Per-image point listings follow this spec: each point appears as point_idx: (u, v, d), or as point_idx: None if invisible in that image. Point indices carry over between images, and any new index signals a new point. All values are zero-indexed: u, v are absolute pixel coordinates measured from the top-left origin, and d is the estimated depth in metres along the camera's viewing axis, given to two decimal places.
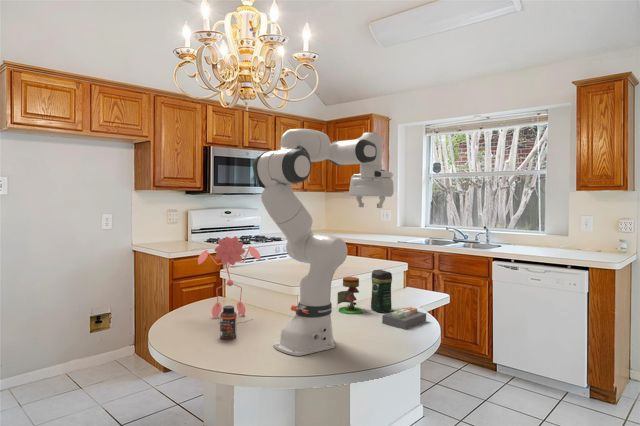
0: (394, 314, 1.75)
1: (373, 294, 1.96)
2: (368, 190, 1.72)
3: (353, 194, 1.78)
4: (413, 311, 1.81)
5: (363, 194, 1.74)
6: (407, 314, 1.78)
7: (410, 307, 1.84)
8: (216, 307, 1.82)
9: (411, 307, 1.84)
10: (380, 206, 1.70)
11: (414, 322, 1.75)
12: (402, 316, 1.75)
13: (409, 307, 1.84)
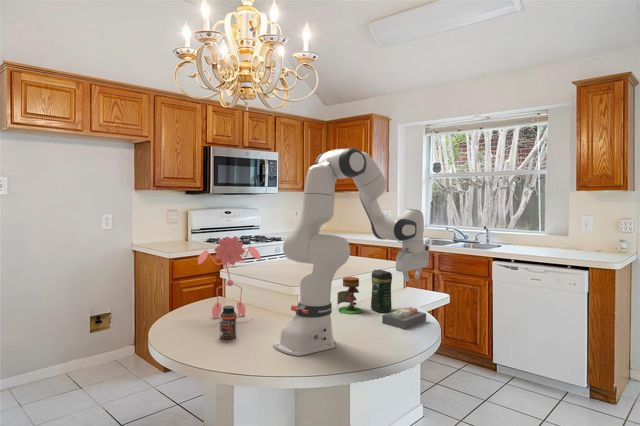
0: (394, 314, 1.75)
1: (373, 294, 1.96)
2: (416, 263, 1.81)
3: (405, 270, 1.75)
4: (413, 311, 1.81)
5: (413, 268, 1.79)
6: (407, 314, 1.78)
7: (410, 307, 1.84)
8: (216, 307, 1.82)
9: (411, 307, 1.84)
10: None
11: (414, 322, 1.75)
12: (402, 316, 1.75)
13: (409, 307, 1.84)
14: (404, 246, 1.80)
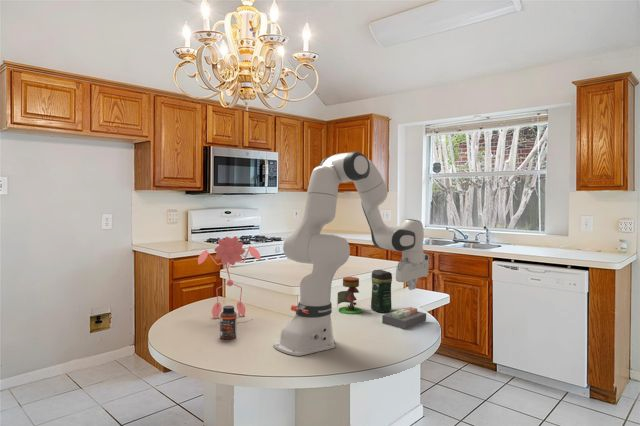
0: (394, 314, 1.75)
1: (373, 294, 1.96)
2: (416, 273, 1.81)
3: (405, 280, 1.76)
4: (413, 311, 1.81)
5: (413, 278, 1.80)
6: (407, 314, 1.78)
7: (410, 307, 1.84)
8: (216, 307, 1.82)
9: (411, 307, 1.84)
10: None
11: (414, 322, 1.75)
12: (402, 316, 1.75)
13: (409, 307, 1.84)
14: (404, 256, 1.80)
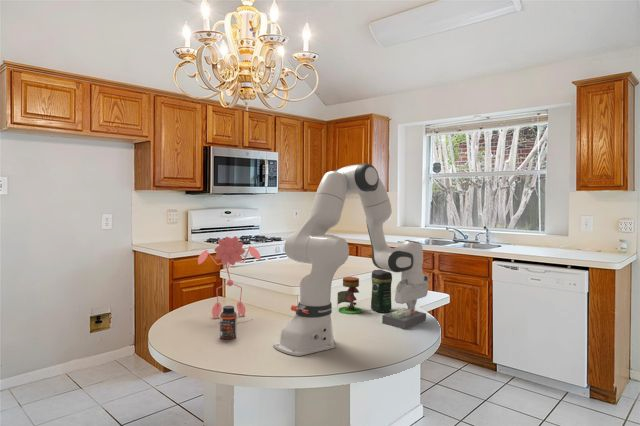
0: (394, 314, 1.75)
1: (373, 294, 1.96)
2: (415, 294, 1.82)
3: (405, 302, 1.76)
4: (413, 313, 1.81)
5: (412, 299, 1.80)
6: (407, 314, 1.78)
7: None
8: (216, 307, 1.82)
9: None
10: None
11: (414, 322, 1.75)
12: (402, 316, 1.75)
13: None
14: (403, 277, 1.80)
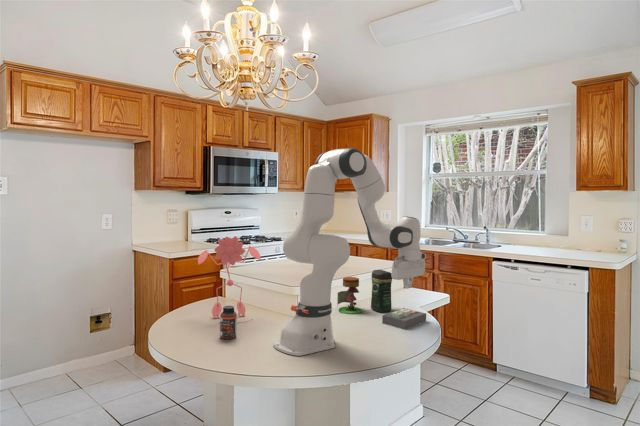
0: (394, 314, 1.75)
1: (373, 294, 1.96)
2: (412, 272, 1.79)
3: (401, 278, 1.73)
4: None
5: (409, 276, 1.77)
6: (407, 314, 1.78)
7: (410, 310, 1.84)
8: (216, 307, 1.82)
9: (411, 310, 1.84)
10: None
11: (414, 322, 1.75)
12: (402, 316, 1.75)
13: None
14: (400, 254, 1.78)
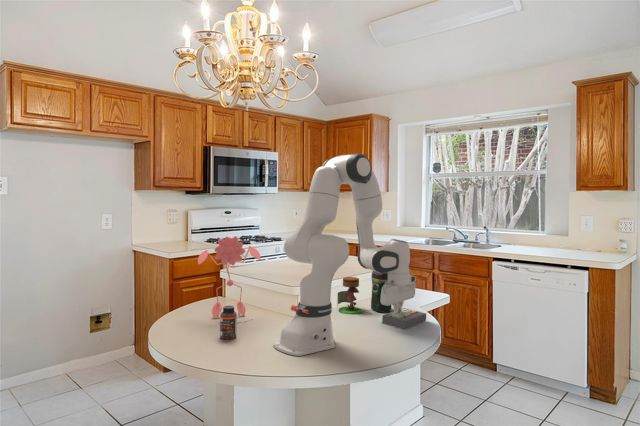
0: (394, 314, 1.75)
1: (373, 294, 1.96)
2: (402, 296, 1.75)
3: (391, 303, 1.69)
4: None
5: (398, 301, 1.73)
6: (407, 314, 1.78)
7: (410, 310, 1.84)
8: (216, 307, 1.82)
9: (411, 310, 1.84)
10: None
11: (414, 322, 1.75)
12: (402, 316, 1.75)
13: None
14: (389, 278, 1.73)
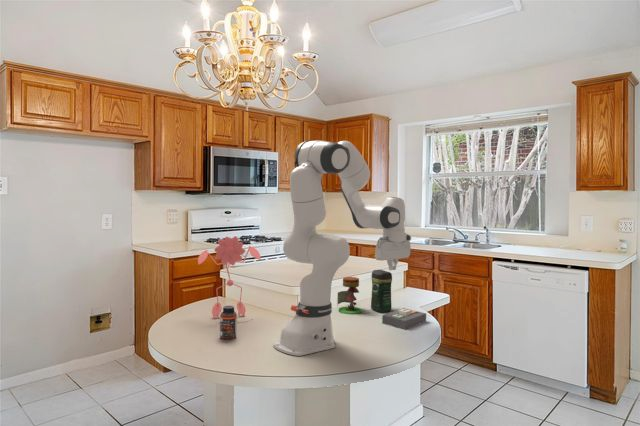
0: (394, 317, 1.75)
1: (373, 294, 1.96)
2: (397, 253, 1.76)
3: (385, 259, 1.71)
4: None
5: (393, 257, 1.74)
6: (407, 314, 1.78)
7: (410, 310, 1.84)
8: (216, 307, 1.82)
9: (411, 310, 1.84)
10: None
11: (414, 322, 1.75)
12: None
13: None
14: (384, 235, 1.75)
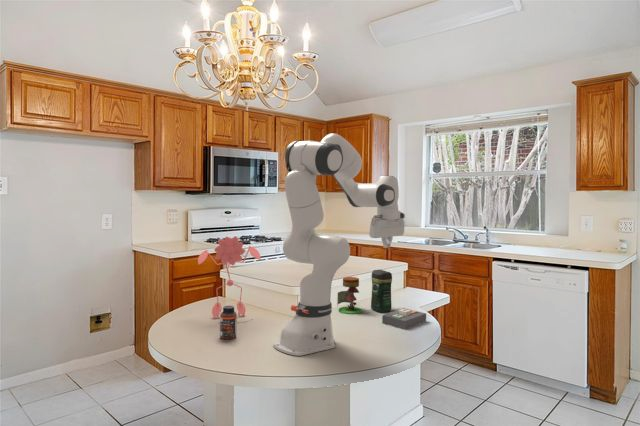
0: (394, 317, 1.75)
1: (373, 294, 1.96)
2: (391, 231, 1.79)
3: (379, 236, 1.73)
4: None
5: (387, 235, 1.77)
6: (407, 314, 1.78)
7: (410, 310, 1.84)
8: (216, 307, 1.82)
9: (411, 310, 1.84)
10: None
11: (414, 322, 1.75)
12: None
13: None
14: (378, 213, 1.77)
